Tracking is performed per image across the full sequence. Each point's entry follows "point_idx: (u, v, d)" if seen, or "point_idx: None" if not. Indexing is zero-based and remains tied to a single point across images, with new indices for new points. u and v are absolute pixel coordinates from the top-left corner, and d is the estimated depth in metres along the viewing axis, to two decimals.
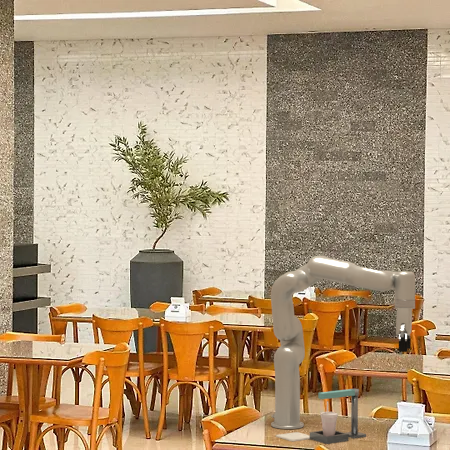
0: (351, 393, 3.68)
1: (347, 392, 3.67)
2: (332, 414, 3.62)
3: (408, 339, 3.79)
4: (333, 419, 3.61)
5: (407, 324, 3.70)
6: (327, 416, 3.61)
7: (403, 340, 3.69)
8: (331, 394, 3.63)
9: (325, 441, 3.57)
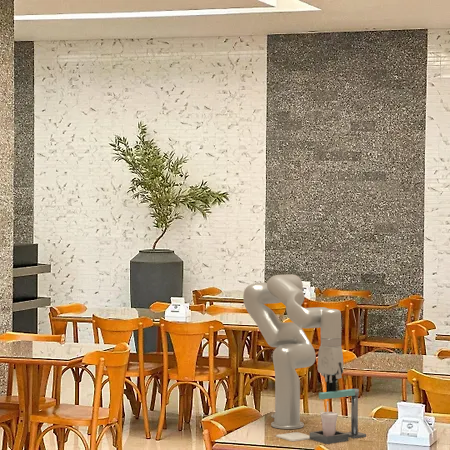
0: (351, 393, 3.68)
1: (347, 392, 3.67)
2: (332, 414, 3.62)
3: None
4: (333, 419, 3.61)
5: (342, 363, 3.64)
6: (327, 416, 3.61)
7: (334, 381, 3.66)
8: (331, 394, 3.63)
9: (325, 441, 3.57)
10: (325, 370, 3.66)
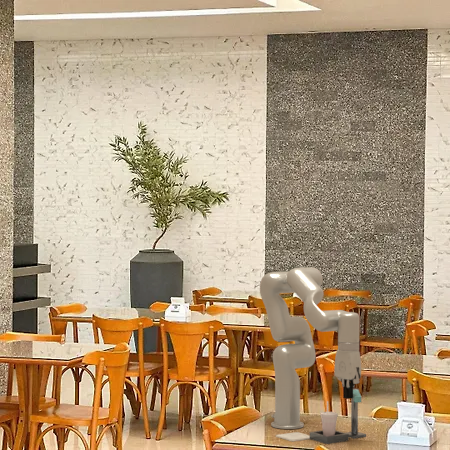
0: None
1: None
2: (332, 414, 3.62)
3: None
4: (333, 419, 3.61)
5: (360, 367, 3.56)
6: (327, 416, 3.61)
7: (352, 386, 3.58)
8: None
9: (325, 441, 3.57)
10: (342, 375, 3.58)
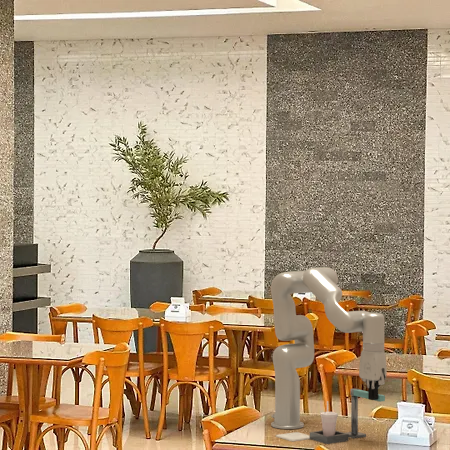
0: None
1: None
2: (332, 414, 3.62)
3: None
4: (333, 419, 3.61)
5: (385, 368, 3.53)
6: (327, 416, 3.61)
7: (377, 388, 3.55)
8: None
9: (325, 441, 3.57)
10: (367, 376, 3.55)
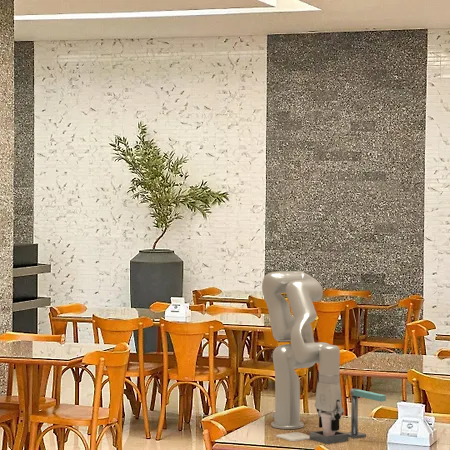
0: None
1: None
2: None
3: None
4: None
5: (341, 400, 3.60)
6: (327, 416, 3.61)
7: (338, 419, 3.60)
8: None
9: (325, 441, 3.57)
10: (323, 407, 3.62)
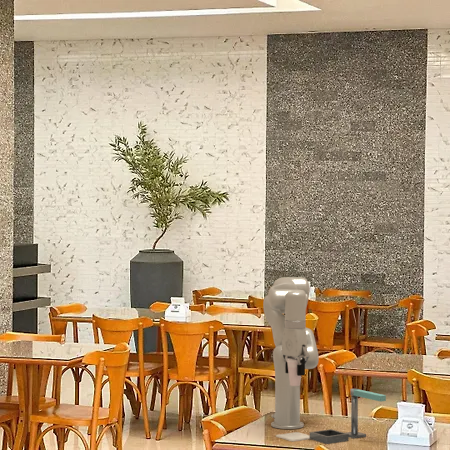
0: None
1: None
2: None
3: None
4: None
5: (306, 345, 3.65)
6: (293, 361, 3.65)
7: (303, 363, 3.64)
8: None
9: (325, 441, 3.57)
10: (289, 352, 3.66)
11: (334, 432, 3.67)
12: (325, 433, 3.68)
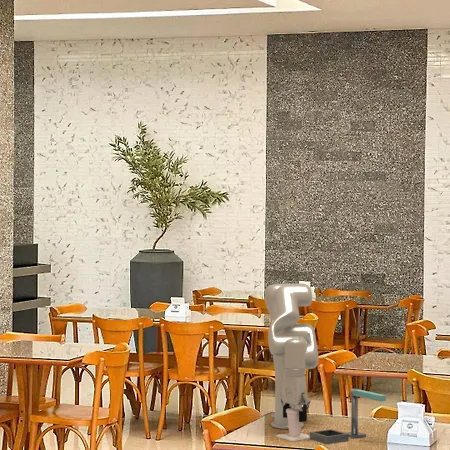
0: None
1: None
2: (297, 410, 3.66)
3: (289, 407, 3.72)
4: (298, 415, 3.65)
5: (306, 393, 3.65)
6: (292, 412, 3.65)
7: (305, 410, 3.63)
8: None
9: (325, 441, 3.57)
10: (289, 400, 3.66)
11: (334, 432, 3.67)
12: (325, 433, 3.68)
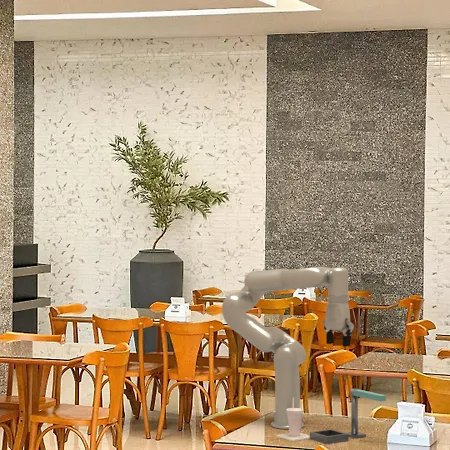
0: None
1: None
2: (298, 410, 3.66)
3: (332, 334, 3.86)
4: (298, 415, 3.65)
5: (349, 319, 3.78)
6: (292, 412, 3.65)
7: (349, 335, 3.76)
8: None
9: (325, 441, 3.57)
10: (332, 326, 3.80)
11: (334, 432, 3.67)
12: (325, 433, 3.68)
